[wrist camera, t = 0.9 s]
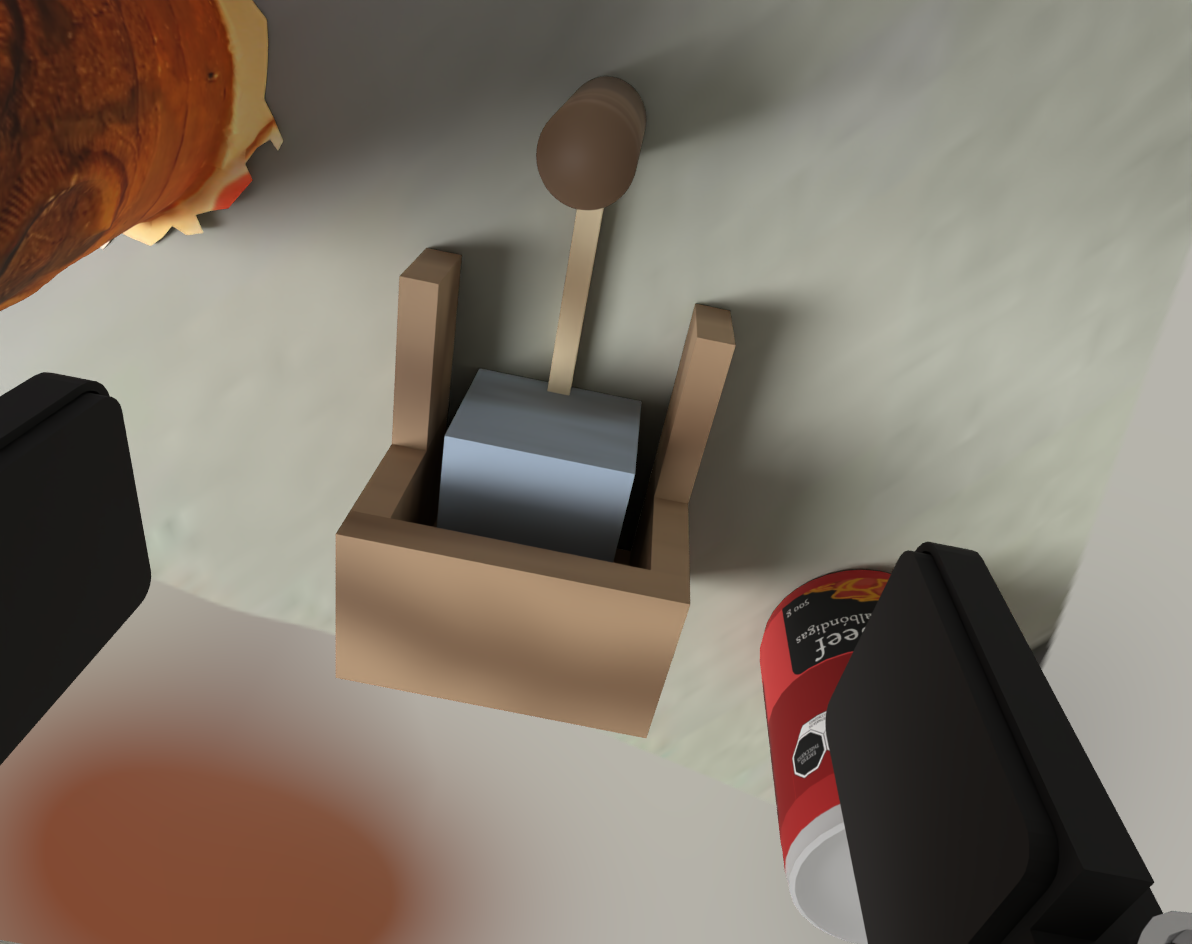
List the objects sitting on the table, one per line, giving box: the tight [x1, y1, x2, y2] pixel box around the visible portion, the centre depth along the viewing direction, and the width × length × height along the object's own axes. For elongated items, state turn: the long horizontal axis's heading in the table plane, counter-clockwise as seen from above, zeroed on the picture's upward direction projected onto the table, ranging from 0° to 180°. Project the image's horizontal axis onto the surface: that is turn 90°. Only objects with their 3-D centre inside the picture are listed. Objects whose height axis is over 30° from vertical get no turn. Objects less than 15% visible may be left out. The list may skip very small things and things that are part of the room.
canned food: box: [760, 570, 891, 944], centre depth 29 cm, size 8×8×11 cm
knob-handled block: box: [437, 76, 646, 563], centre depth 25 cm, size 16×6×6 cm, turn 170°
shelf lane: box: [336, 248, 736, 738], centre depth 26 cm, size 12×10×8 cm
